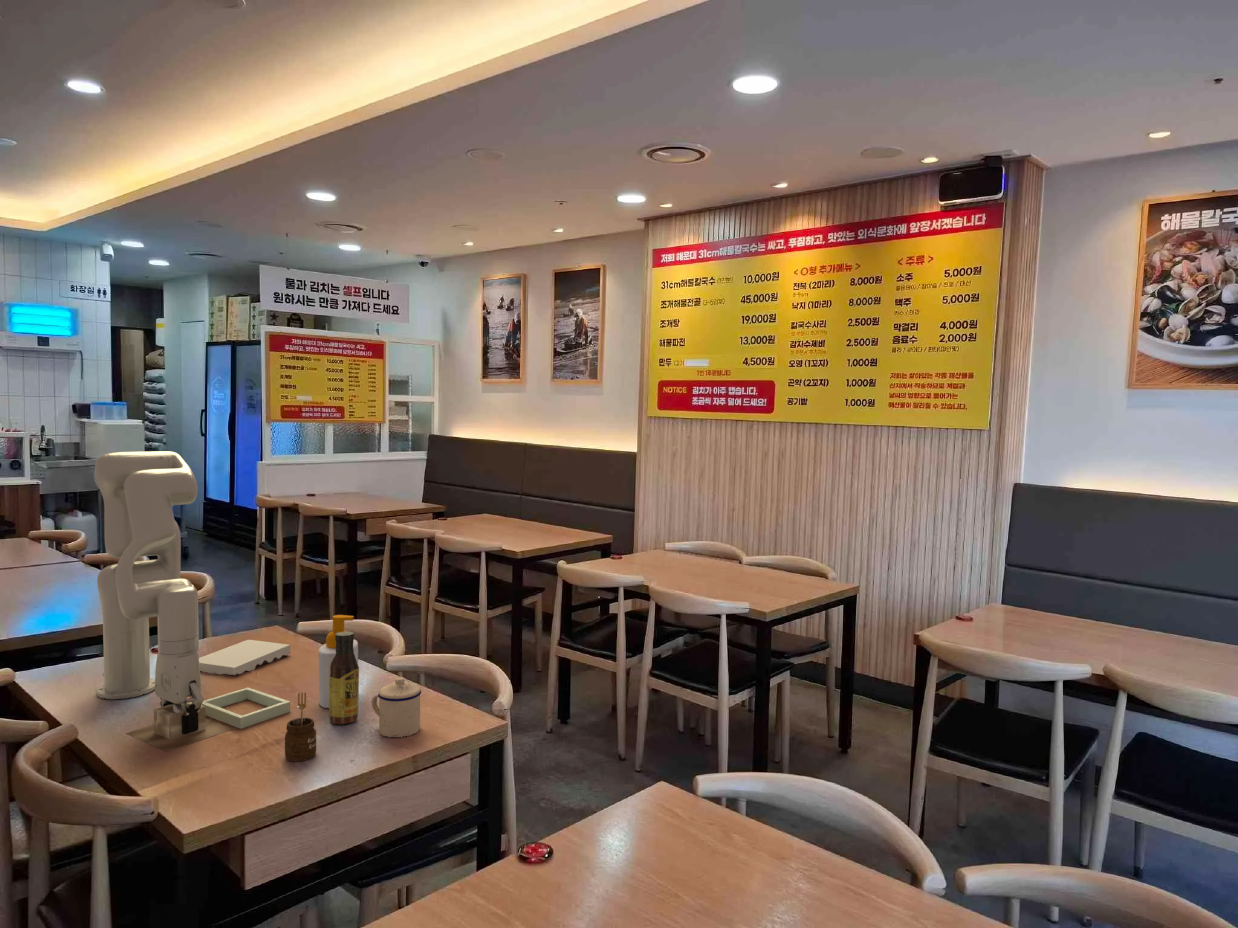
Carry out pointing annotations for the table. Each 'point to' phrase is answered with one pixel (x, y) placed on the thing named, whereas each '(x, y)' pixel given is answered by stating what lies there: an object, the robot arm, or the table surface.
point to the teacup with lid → (398, 708)
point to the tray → (241, 721)
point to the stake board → (169, 745)
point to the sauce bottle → (344, 681)
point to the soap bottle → (331, 657)
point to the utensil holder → (300, 736)
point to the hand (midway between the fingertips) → (180, 727)
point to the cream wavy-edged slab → (242, 657)
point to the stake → (177, 708)
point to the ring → (174, 722)
